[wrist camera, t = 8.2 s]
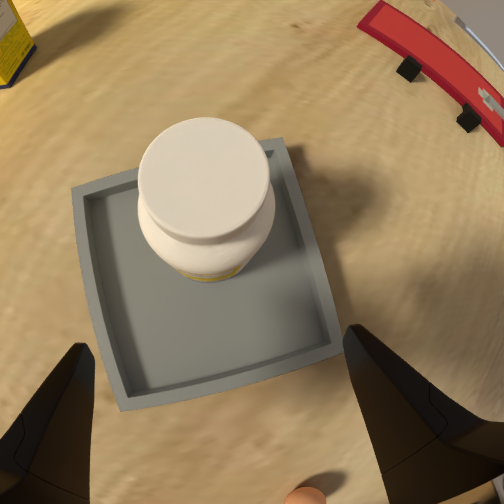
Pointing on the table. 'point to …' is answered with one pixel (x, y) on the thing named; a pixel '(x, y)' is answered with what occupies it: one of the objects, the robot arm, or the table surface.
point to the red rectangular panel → (438, 67)
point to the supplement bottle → (205, 198)
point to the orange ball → (305, 496)
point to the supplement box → (12, 44)
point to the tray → (201, 299)
